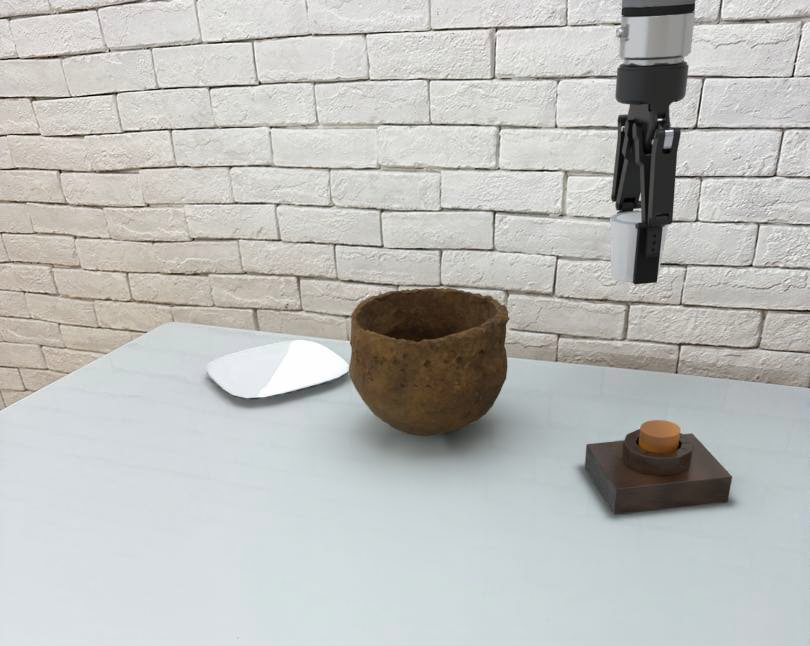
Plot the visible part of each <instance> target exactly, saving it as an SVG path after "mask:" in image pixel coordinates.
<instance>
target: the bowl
mask: <svg viewBox="0 0 810 646" xmlns="http://www.w3.org/2000/svg"><path fill="white" fill-rule="evenodd" d="M509 321H510V317H509V311H508V307H507V306H506V305H505V304H502V303H500V302H499V300H498V299H495V298H494V297H493V296H492V295H483V294H481V293H478V292H477V293H474V292H471V291H465V290H462V289H457V288H452V287H446V288H444V287H439V288H436V287H425V288H414V289H401V290H398V289H397V290H390V291H385V292H384V293H379V294H377V295H372V296H368V297H366V298H365V299H362V300H361V301H360V302H359V303H358V304H357V305H356V307H355V308H354V309H353V311H352V313H351V315H350V339H349V345H350V347H351V355H350V360H349V373H348V374H349V379H350V380H351V382H352V384H353V386H354V388H355V390H356V392H357V393H358V395H359V397H360V398H361V399H362V401H363V402H364V404H365V405H366V406H367V408H368V409H369V410H370V411H371V412H372V414H373V415H374V416H376V417H377V418H378V419H380V420H381V421H382V422H384V423H385V424H387V425H389V427H392V428H393V429H394V430H397V431H398V432H402V433H404V434H409V435H413V436H420V437H421V436H422V437H433V436H439V435H443V434H447V433H452V432H455V431H457V430H461V429H463V428H465V427H468V426H470V425H473V423H475V422H477V421H479V420H480V419H481V418H483V417H485V415H487V413H488V412H489V411H490V410H491V409H492V407H493V406H494V405H495V403H496V400H497V399H498V397H499V395H500V393H501V392H502V389H503V386H504V384H505V382H506V380H507V375H508V366H509V365H508V357H507V356H508V355H507V349H506V347H505V345H506V339H507V337H506V336H507V324H508V322H509Z"/></svg>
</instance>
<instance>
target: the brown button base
mask: <svg viewBox="0 0 810 646" xmlns="http://www.w3.org/2000/svg"><path fill="white" fill-rule="evenodd" d="M639 434H640V428H637V429H635V430H633V431H631V432H629V433H627V434H625V437H624V439H623V440H614V441H605V442H594V443H587V444H586V445H585V447H586V448H585V458H584V459H585V460H584V470H585V471H586V473H587V474H588V476H589V477H590V479H591V480H592V482H593V484H594V486H595V487H596V488H597V490H598V492H599V493H600V495H601V496H602V498H603V499H604V501H605V503H606V504H607V506H608V507H609V509H610V510H611V512H612V514H613V515H622V514H630V513H639V512H649V511H658V510H667V509H676V508H684V507H693V506H703V505H712V504H720V503H728V502H729V498H730V493H731V486H732V480H733V475H732V474H730V473H729V471H728V469H726V468H725V467H724V466H723V465H722V463H720V462H719V460H717V458H716V457H715V456H714V455H713V454H712V452H710V451H709V449H708V448H707V447H706V446H705V445H704V444H703V443H702V442H701V440H700V439H698V437H696V436H695V434H693V433H682V432H680V439H679V446H678V450H676V451H674V452H668V453H656V452H648V451H646V450H644V449H642V448H639V446H638V443H639Z"/></svg>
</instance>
